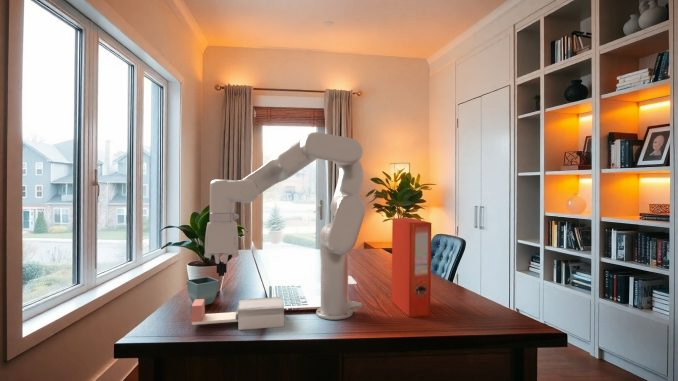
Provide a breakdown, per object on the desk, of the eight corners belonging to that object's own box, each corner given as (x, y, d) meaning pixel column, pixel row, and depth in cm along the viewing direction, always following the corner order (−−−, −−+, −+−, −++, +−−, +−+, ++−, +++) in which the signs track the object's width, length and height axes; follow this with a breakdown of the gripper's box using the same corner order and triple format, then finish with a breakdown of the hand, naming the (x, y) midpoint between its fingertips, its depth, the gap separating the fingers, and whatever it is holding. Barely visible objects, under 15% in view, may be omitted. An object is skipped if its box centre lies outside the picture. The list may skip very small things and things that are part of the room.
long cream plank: (275, 311, 134) (275, 294, 134) (277, 318, 127) (277, 300, 127) (195, 317, 128) (194, 299, 128) (191, 324, 121) (191, 306, 121)
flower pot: (219, 303, 148) (219, 280, 148) (197, 309, 142) (197, 284, 142) (207, 299, 154) (207, 276, 154) (186, 304, 148) (185, 280, 148)
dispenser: (281, 314, 137) (281, 296, 136) (284, 326, 125) (283, 307, 125) (236, 317, 133) (236, 299, 133) (235, 330, 122) (235, 310, 122)
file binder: (411, 300, 152) (411, 217, 151) (431, 315, 135) (431, 222, 134) (391, 302, 150) (391, 218, 149) (408, 317, 133) (409, 222, 133)
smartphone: (341, 284, 176) (335, 276, 190) (341, 285, 176) (335, 277, 190) (357, 283, 177) (350, 275, 192) (357, 285, 177) (350, 277, 192)
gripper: (246, 217, 131) (245, 272, 131) (198, 217, 128) (198, 273, 128) (245, 219, 124) (245, 277, 124) (195, 219, 121) (195, 279, 121)
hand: (221, 275), depth 126 cm, fingers closed
